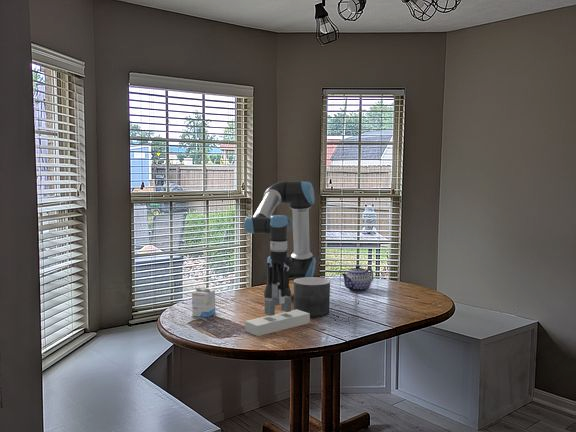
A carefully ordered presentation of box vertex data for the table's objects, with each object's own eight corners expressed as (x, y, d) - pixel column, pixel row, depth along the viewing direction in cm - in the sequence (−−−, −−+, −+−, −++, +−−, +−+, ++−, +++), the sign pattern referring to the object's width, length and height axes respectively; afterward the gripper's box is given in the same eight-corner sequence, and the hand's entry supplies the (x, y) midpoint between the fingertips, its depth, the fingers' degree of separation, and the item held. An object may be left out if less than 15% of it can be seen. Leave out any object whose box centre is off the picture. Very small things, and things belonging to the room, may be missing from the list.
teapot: (364, 285, 318) (364, 261, 317) (382, 290, 305) (383, 265, 304) (332, 290, 304) (333, 265, 302) (350, 296, 291) (350, 269, 290)
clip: (270, 315, 227) (270, 286, 226) (264, 313, 230) (264, 284, 229) (291, 311, 235) (291, 282, 234) (285, 309, 238) (285, 281, 237)
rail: (257, 336, 220) (257, 325, 219) (244, 331, 227) (244, 321, 226) (309, 323, 239) (309, 313, 239) (296, 318, 246) (296, 309, 246)
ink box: (215, 313, 254) (215, 286, 253) (207, 317, 247) (207, 289, 245) (200, 311, 257) (200, 284, 256) (191, 315, 249) (191, 288, 248)
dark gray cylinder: (310, 305, 270) (311, 275, 268) (337, 312, 257) (337, 281, 256) (286, 312, 257) (286, 280, 256) (312, 319, 245) (312, 286, 243)
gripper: (260, 248, 234) (259, 300, 236) (284, 253, 221) (284, 307, 223) (273, 247, 239) (272, 297, 241) (297, 251, 226) (297, 304, 228)
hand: (278, 302), depth 232 cm, fingers closed on clip, 4 cm apart
